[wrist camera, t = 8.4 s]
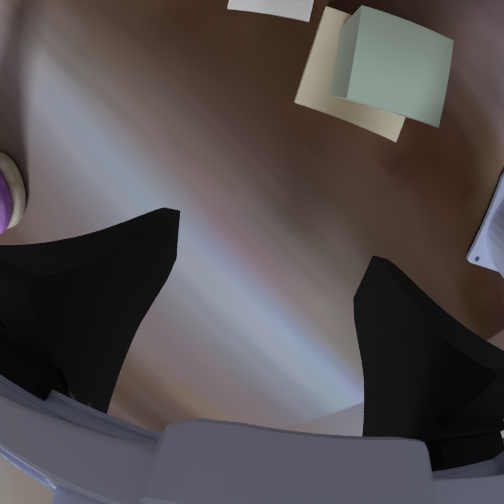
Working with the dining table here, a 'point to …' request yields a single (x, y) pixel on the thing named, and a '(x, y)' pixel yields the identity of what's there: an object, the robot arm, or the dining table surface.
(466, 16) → the dining table surface
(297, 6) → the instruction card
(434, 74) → the sage block
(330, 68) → the maple base
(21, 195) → the stacking toy
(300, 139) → the dining table surface
